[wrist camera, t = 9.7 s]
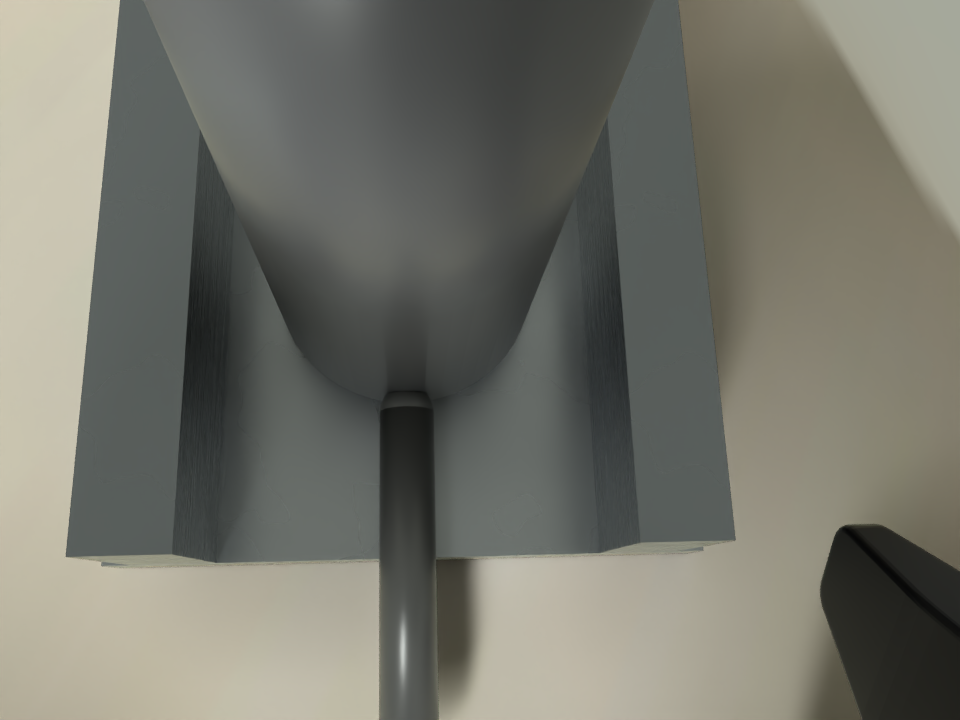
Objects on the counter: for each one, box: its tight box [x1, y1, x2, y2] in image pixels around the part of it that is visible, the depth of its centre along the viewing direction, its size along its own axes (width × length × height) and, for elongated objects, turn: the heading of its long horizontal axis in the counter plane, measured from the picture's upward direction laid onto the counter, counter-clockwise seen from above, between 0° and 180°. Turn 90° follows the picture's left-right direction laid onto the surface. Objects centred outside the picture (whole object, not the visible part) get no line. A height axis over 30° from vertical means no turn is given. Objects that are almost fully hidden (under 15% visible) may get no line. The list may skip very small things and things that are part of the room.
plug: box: [144, 0, 654, 720], centre depth 10 cm, size 12×5×14 cm, turn 2°
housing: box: [66, 0, 736, 568], centre depth 16 cm, size 11×11×4 cm
